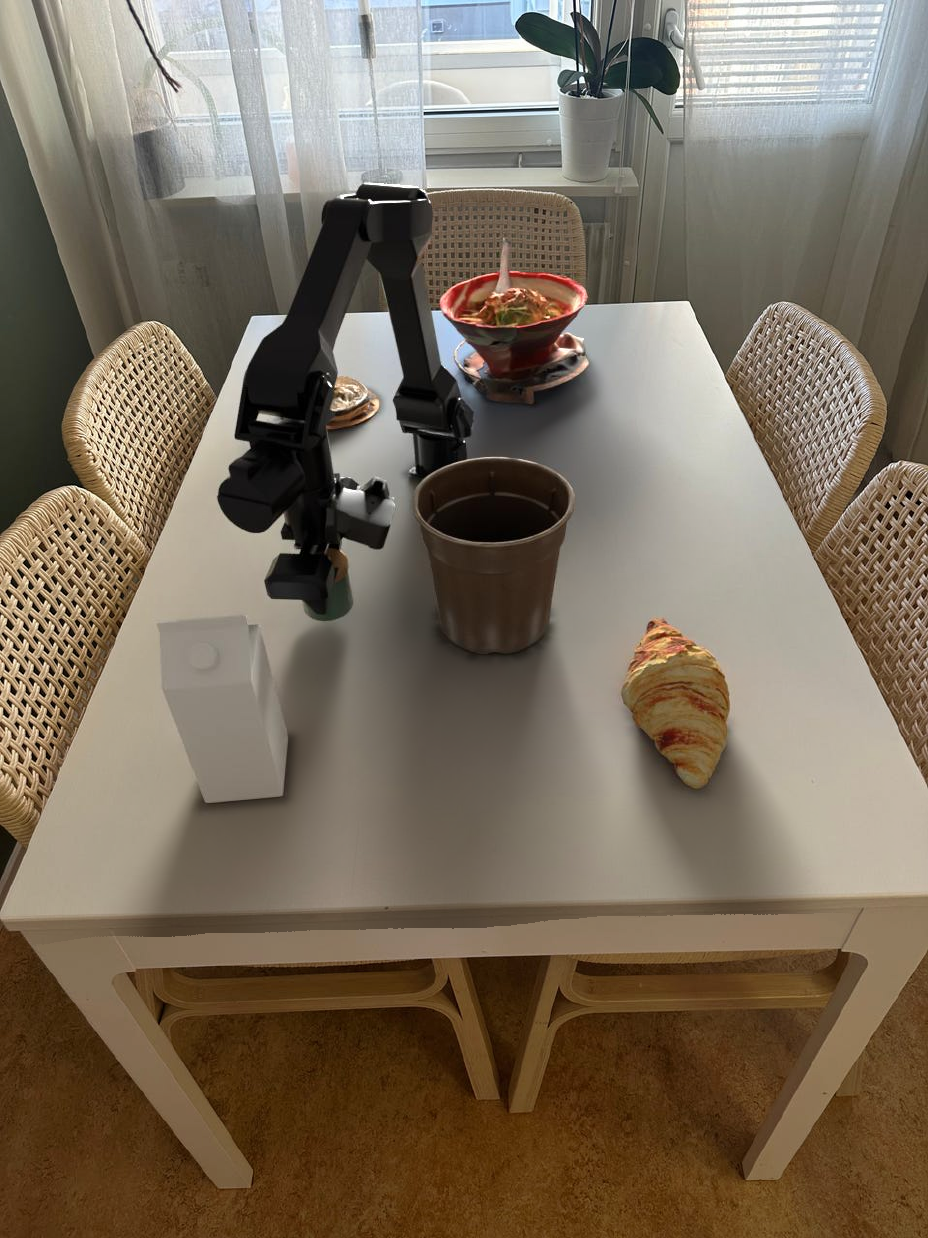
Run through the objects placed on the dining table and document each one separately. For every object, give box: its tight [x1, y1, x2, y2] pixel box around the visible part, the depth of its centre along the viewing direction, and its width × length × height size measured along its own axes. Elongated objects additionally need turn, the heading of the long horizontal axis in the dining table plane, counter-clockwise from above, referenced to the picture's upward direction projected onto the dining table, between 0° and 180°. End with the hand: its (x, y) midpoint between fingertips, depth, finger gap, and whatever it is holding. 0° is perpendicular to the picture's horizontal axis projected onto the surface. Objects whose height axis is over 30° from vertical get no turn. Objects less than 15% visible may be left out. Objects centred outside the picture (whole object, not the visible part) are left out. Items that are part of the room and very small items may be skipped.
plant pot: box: [411, 456, 576, 656], centre depth 92 cm, size 16×16×16 cm
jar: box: [301, 548, 354, 622], centre depth 96 cm, size 6×6×6 cm
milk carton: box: [156, 613, 289, 804], centre depth 76 cm, size 7×7×19 cm
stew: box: [438, 238, 590, 405], centre depth 140 cm, size 28×24×16 cm
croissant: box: [620, 617, 731, 789], centre depth 84 cm, size 21×10×8 cm, turn 2°
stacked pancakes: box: [326, 375, 380, 430], centre depth 135 cm, size 15×15×4 cm
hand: (327, 596), depth 97 cm, fingers closed on jar, 5 cm apart
